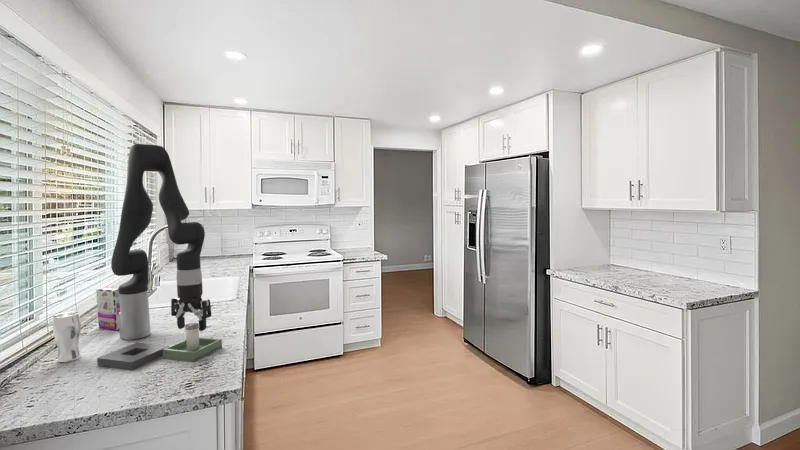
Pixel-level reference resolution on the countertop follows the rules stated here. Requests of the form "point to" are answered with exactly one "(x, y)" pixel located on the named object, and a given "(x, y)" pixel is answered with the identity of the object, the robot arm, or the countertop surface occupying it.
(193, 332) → the fuse
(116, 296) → the candy bar box
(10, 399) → the countertop surface
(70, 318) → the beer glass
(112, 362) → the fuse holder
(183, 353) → the tray
